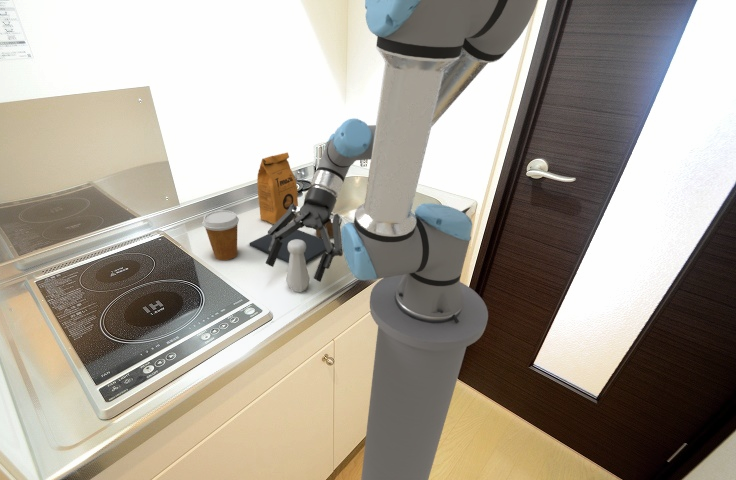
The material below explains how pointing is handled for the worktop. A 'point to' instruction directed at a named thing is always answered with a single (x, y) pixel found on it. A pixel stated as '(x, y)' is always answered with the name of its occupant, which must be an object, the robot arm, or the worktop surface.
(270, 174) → the coffee package
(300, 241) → the salt shaker
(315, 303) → the worktop surface
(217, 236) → the disposable coffee cup
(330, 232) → the brown jar with stick
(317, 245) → the mat
